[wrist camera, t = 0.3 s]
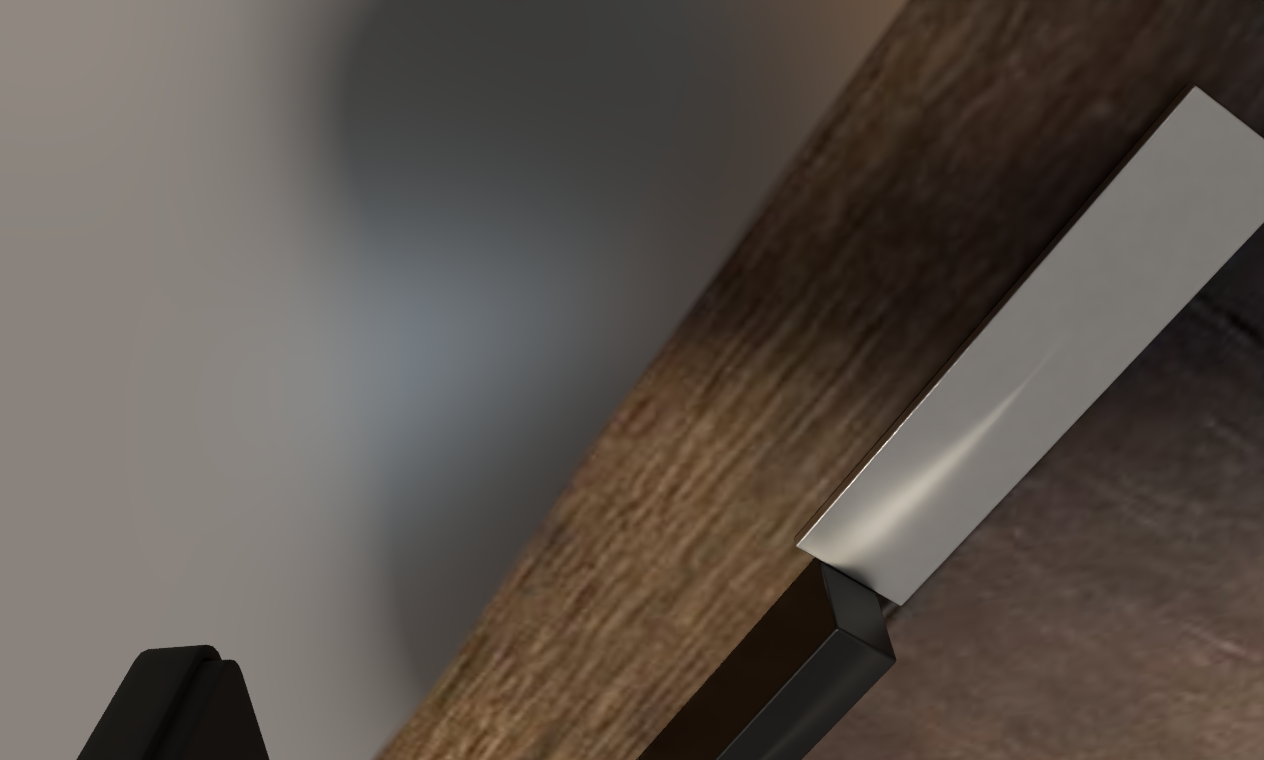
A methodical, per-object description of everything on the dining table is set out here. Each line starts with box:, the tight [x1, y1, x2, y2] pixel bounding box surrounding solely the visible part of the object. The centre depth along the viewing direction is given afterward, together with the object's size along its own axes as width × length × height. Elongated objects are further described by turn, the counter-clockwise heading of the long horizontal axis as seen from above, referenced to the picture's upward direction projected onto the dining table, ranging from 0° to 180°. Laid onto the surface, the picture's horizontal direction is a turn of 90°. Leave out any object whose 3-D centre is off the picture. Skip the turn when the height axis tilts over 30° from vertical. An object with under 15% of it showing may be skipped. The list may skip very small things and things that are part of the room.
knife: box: [638, 83, 1264, 760], centre depth 24 cm, size 3×21×3 cm, turn 147°
